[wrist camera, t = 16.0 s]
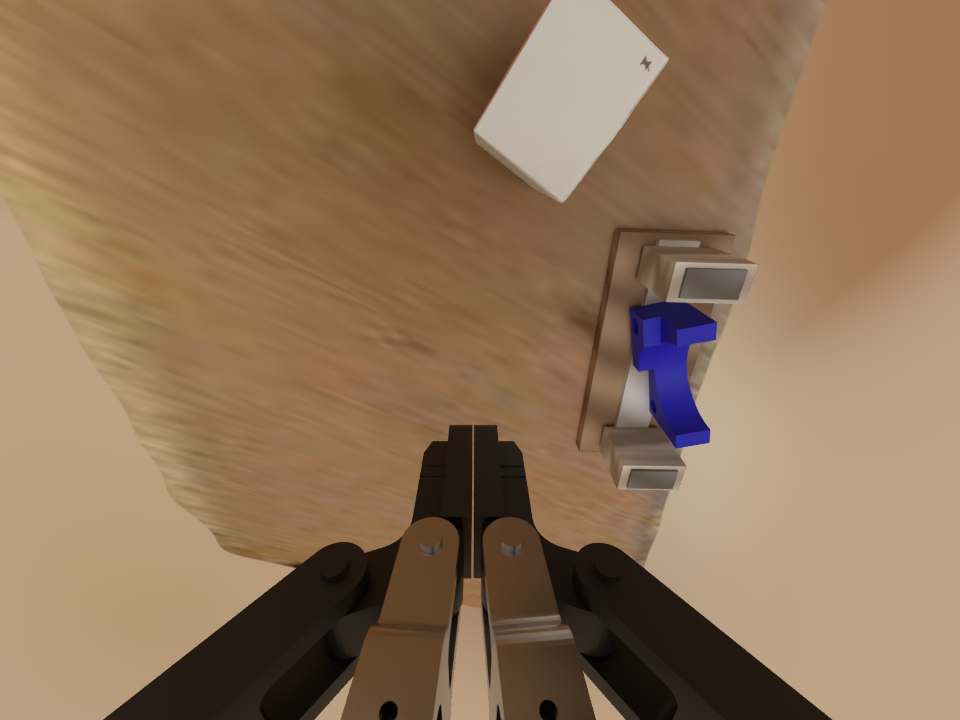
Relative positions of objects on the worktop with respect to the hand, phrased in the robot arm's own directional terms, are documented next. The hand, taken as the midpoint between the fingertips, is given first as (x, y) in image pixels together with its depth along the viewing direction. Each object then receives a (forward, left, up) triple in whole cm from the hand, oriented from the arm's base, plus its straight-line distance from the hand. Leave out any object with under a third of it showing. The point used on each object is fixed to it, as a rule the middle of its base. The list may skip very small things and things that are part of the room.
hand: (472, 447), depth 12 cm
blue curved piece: (+9, +18, -24) cm, 31 cm away
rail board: (+9, +17, -26) cm, 33 cm away
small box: (-11, +4, -26) cm, 29 cm away
